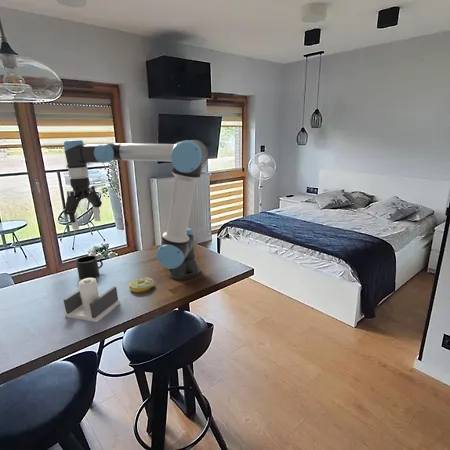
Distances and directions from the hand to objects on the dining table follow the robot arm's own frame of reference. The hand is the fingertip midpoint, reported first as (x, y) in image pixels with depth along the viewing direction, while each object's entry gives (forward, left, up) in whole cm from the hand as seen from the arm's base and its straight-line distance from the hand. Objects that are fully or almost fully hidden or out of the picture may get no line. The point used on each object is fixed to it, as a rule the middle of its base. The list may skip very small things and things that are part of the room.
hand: (87, 225), depth 141 cm
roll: (-15, +20, -27) cm, 37 cm away
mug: (+9, -7, -29) cm, 31 cm away
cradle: (-15, +20, -29) cm, 38 cm away
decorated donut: (-24, -1, -29) cm, 38 cm away
